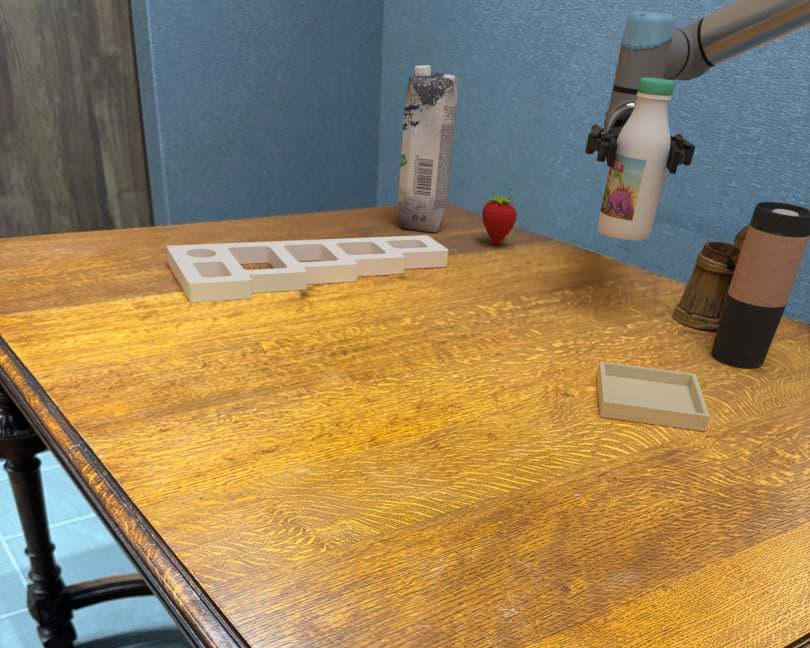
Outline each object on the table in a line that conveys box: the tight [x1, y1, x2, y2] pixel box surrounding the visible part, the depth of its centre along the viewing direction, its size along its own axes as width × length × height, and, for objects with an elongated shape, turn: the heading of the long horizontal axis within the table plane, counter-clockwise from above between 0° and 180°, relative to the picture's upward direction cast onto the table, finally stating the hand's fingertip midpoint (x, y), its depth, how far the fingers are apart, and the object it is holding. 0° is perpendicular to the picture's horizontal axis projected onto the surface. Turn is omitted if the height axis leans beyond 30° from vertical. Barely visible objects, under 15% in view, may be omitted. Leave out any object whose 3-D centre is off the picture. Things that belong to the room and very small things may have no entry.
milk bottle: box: [597, 77, 675, 241], centre depth 113 cm, size 8×8×20 cm
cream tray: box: [596, 360, 711, 432], centre depth 99 cm, size 12×12×2 cm
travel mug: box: [710, 201, 810, 369], centre depth 108 cm, size 8×8×20 cm
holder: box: [166, 234, 450, 303], centre depth 129 cm, size 45×18×3 cm, turn 113°
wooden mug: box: [672, 223, 750, 332], centre depth 119 cm, size 9×14×18 cm, turn 12°
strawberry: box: [481, 187, 518, 246], centre depth 148 cm, size 6×8×10 cm
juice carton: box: [397, 65, 458, 233], centre depth 150 cm, size 9×10×27 cm
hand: (643, 159), depth 109 cm, fingers closed on milk bottle, 8 cm apart
